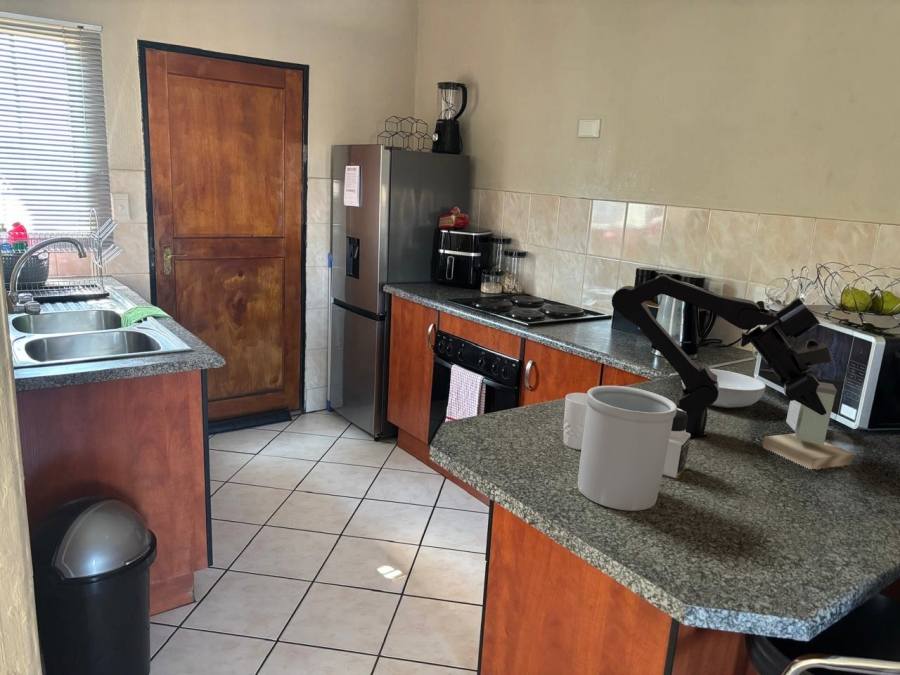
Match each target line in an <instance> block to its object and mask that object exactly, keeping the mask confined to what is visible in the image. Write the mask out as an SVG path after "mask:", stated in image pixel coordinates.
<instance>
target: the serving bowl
mask: <svg viewBox="0 0 900 675" xmlns="http://www.w3.org/2000/svg"><path fill="white" fill-rule="evenodd" d="M709 369H710V371H711V372H712V373H713V374H715V375H717V381H718V384H719V393H718V398H717V400H716V401H715V402H714V403H713V404H711V405H710V406H712V407H713V406H714V407H718V408H723V409H724V408H727V409H729V408H730V409H731V408H732V409H733V408H743V407H744V408H745V407H748V406H751V405H753V404H756V403H757V402H758V401H759V400H760V399H761V398H762V397H763V394H764V393H765V391H766V387H767V386H766V384H765V383H764V382H763V381H761V380H759V379H757V378H754V377H752V376H749V375H746V374H742V373H738V372H733V371H730V370H722V369H718V368H717V369H715V368H709ZM680 379H681V378H680ZM681 383H682V387H683V390H684V389H685V386H684V384H683V381H682V379H681Z"/></svg>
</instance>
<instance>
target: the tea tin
mask: <svg viewBox="0 0 900 675" xmlns="http://www.w3.org/2000/svg"><path fill="white" fill-rule="evenodd" d="M818 382H819V384H820V385H819V386H818V387H817V390H816V393H817V395H818V397H819V398H820V400H821V402H822V404H823V406H824V408H825V410H826V412H827V413H826V414H824V415H820V414H818V413H817V412H815V411H813V410H811V409H810V408H808V407H806V406H804V405H802V404H801V406H800V411H799V415H798V420H797V424H796V429H795V431H794V433H795V435H796V438H797V440H801V441H806V442H811V443H816V444H821V445H824V442H826V437H827V433H828V428H829V424H830V420H831V419H830V418H831V415H832V410H833V406H834V402H835V396H836V395H837V392H838V390H837V388H836V387H835V385H834V384H833V383H829V382H820V381H818Z"/></svg>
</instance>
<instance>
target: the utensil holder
mask: <svg viewBox="0 0 900 675" xmlns="http://www.w3.org/2000/svg"><path fill="white" fill-rule="evenodd" d="M586 394H587V402H588V404H587V411H586V418H585V425H584V433H583V442H582V449H581V450H580V458H579V466H578V467H579V468H578V476H577V489H578V491H579V492H580V493H581V494H582V495H583V496H584V497H585V498H586V499H588V500H590V501H592V502H594V503H596V504H598V505H600V506H603V507H607V508H609V509H615V510H618V511H619V510H621V511H630V512H632V511H633V512H634V511H635V512H637V511H643V510H644V511H645V510H648V509H650V508H652V507H653V506H654V505H655V504H656V503H657V499H658V496H659V491H660V486H661V482H662V478H663V470H664V464H665V459H666V454H667V449H668V444H669V439H670V434H671V429H672V423H673V418H674V417H675V415H676V411H677V404H676V403H675V402H674V401H672V400H670V399H669V398H667V397H665V396H663V395H660V394H658V393H655V392H651V391H648V390H645V389H641V388H636V387H630V386H622V385H621V386H620V385H598V386H594V387H590V388H589V389H588V390H587V393H586Z"/></svg>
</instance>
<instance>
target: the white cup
mask: <svg viewBox="0 0 900 675" xmlns="http://www.w3.org/2000/svg"><path fill="white" fill-rule="evenodd" d="M564 402H565V403H564V416H563V435H562V436H563V437H562V442H563V444H564V445H565V446H566V447H568V448H571V449H573V450H578V451H581V449H582V442H583V433H584V425H585V418H586V411H587V404H588V402H587V393H586V392H585V393H584V392H572V393H570V392H569V393H568V394H566V395H565V399H564Z"/></svg>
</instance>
